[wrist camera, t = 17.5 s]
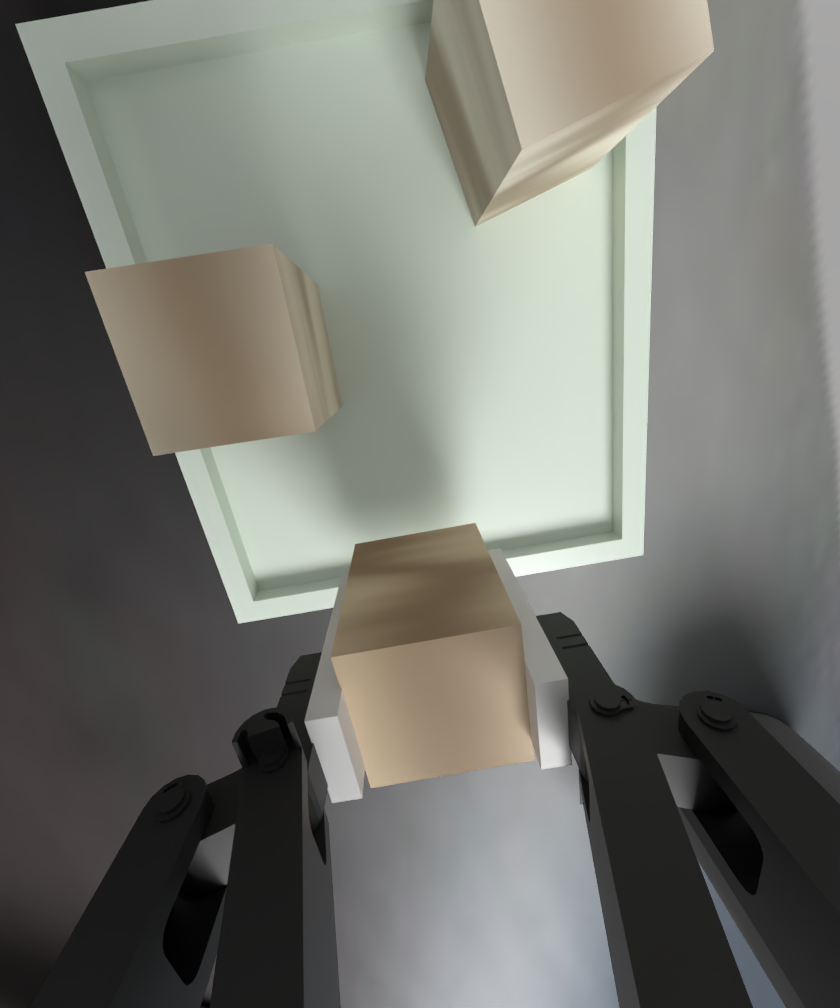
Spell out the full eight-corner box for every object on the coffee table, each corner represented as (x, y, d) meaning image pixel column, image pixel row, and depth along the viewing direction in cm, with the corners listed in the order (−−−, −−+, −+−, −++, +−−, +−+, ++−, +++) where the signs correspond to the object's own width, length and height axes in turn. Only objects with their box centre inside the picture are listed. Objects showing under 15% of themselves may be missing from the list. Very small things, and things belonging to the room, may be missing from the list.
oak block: (379, 641, 17) (371, 788, 11) (355, 544, 15) (330, 657, 10) (488, 622, 17) (534, 760, 11) (475, 522, 15) (521, 624, 10)
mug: (770, 683, 24) (1097, 969, 13) (812, 771, 27) (1111, 1070, 16) (566, 786, 26) (695, 1112, 15) (625, 859, 29) (771, 1178, 18)
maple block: (474, 227, 15) (521, 149, 9) (425, 80, 14) (445, -116, 8) (591, 168, 15) (714, 50, 9) (553, 10, 13) (671, -248, 8)
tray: (249, 605, 21) (238, 623, 19) (55, 59, 13) (15, 24, 12) (626, 541, 20) (643, 555, 19) (634, -42, 13) (662, -89, 12)
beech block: (234, 422, 17) (153, 456, 11) (198, 302, 15) (84, 272, 10) (342, 406, 17) (315, 431, 11) (317, 285, 15) (272, 243, 10)
